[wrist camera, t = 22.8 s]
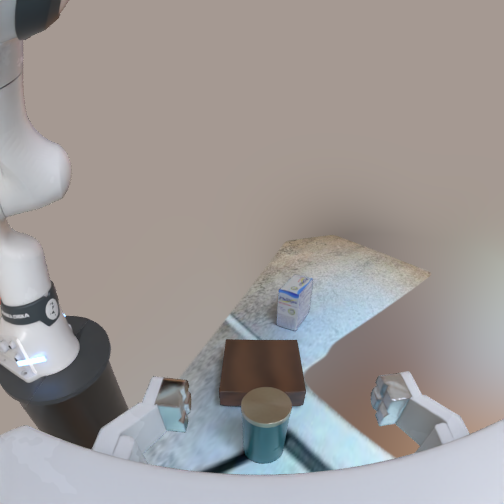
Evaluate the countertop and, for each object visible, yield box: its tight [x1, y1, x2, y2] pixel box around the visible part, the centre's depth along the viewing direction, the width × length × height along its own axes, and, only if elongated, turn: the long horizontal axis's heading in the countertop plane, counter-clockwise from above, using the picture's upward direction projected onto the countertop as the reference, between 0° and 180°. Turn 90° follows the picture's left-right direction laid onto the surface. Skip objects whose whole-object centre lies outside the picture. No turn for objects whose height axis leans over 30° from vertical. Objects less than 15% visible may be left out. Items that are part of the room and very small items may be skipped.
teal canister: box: [241, 387, 292, 464], centre depth 30 cm, size 5×5×10 cm
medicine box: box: [277, 274, 313, 331], centre depth 59 cm, size 8×4×9 cm, turn 150°
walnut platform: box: [219, 339, 306, 406], centre depth 43 cm, size 12×12×4 cm
